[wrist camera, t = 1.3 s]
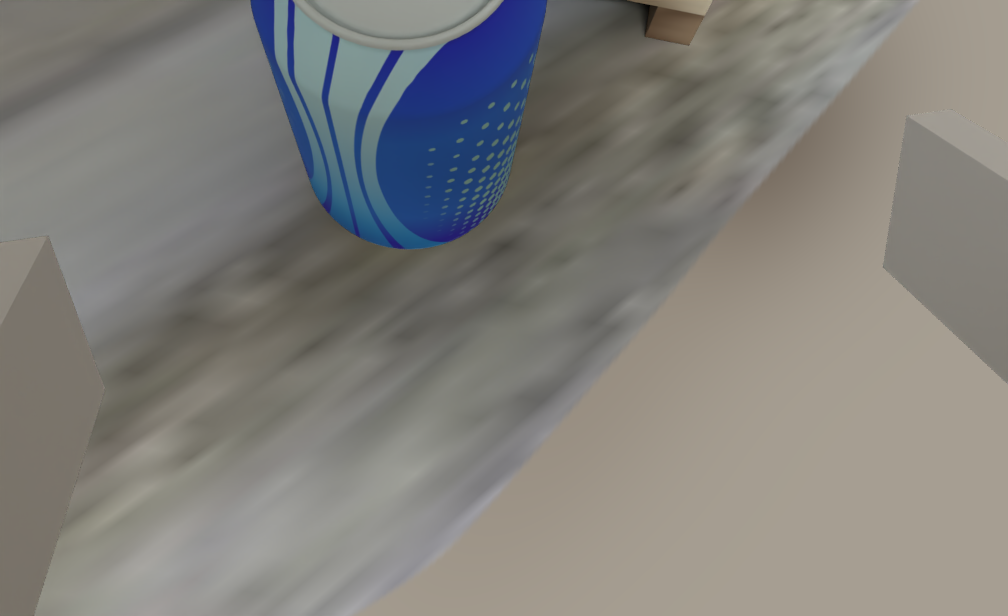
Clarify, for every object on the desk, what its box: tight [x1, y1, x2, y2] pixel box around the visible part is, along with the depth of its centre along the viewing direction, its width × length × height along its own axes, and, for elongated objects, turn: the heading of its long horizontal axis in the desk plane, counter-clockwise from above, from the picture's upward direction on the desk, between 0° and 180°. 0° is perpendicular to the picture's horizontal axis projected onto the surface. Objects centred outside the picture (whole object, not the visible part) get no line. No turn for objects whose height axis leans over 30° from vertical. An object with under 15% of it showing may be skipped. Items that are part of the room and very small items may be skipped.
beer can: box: [251, 0, 547, 249], centre depth 32 cm, size 8×8×16 cm
